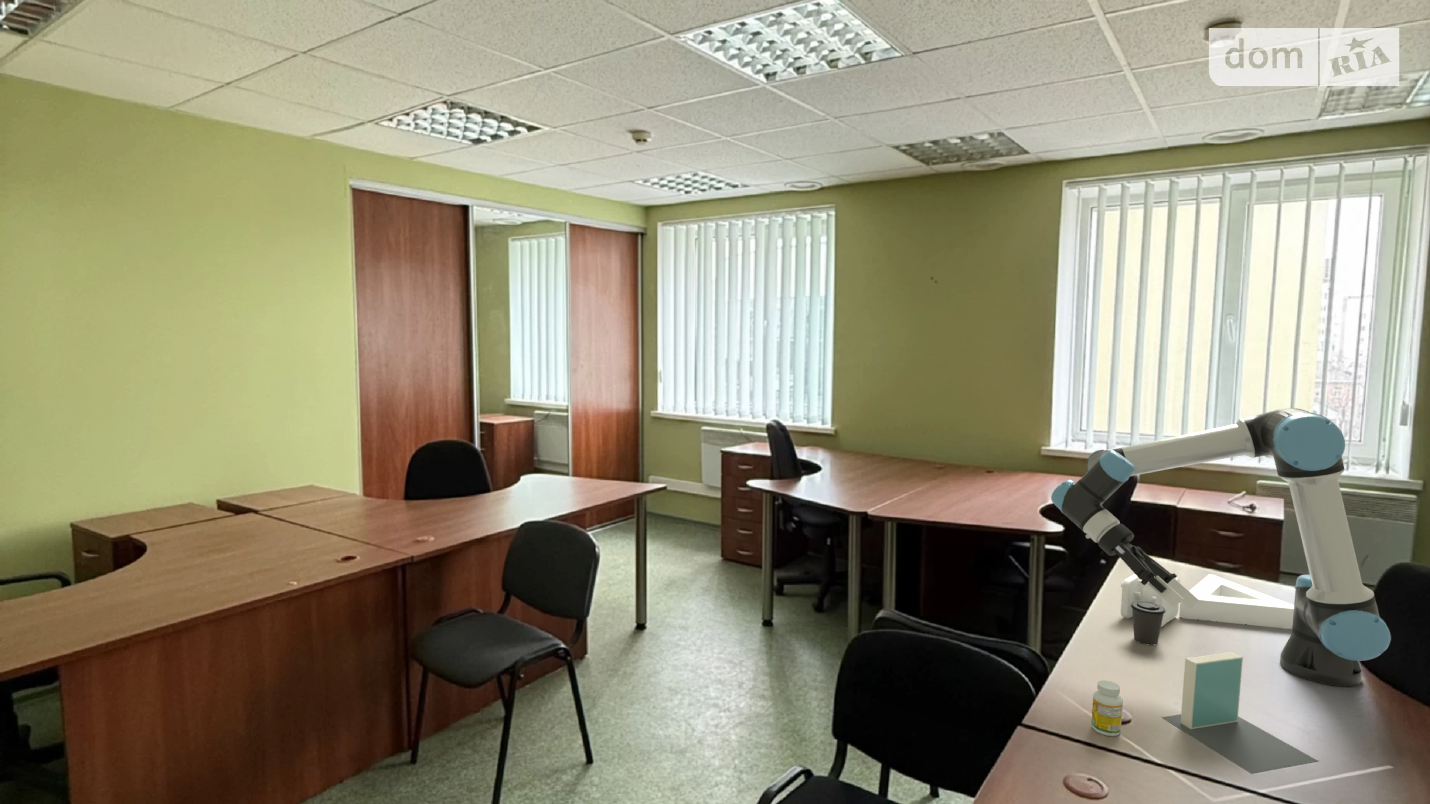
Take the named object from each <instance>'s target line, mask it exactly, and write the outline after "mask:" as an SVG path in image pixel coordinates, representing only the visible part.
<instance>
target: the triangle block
mask: <svg viewBox="0 0 1430 804" xmlns="http://www.w3.org/2000/svg"><path fill="white" fill-rule="evenodd" d="M1189 591H1190V592H1191V593H1192V594H1193V595H1194V596H1195V597H1197V598H1198V599H1199V601H1198V602H1197V603H1196V604H1195V605H1193V606H1192V607H1191V608H1189V607H1188V606H1187V605H1186V604H1184V603H1183V602H1182V601H1181V602H1180V603H1179V612H1178V613H1179V614H1178V615H1179V616H1178V618H1179V617H1182V618H1181V619H1188V620H1197V619H1199V621H1207V620H1211V621H1210V622H1216V621H1217V623H1225V624H1226V623H1229V624H1238V625H1245V624H1247V625H1248V626H1256V627H1265V628H1266V627H1267V628H1277V629H1283V630H1285V629H1287V630H1292V624H1293V612H1294V604H1292V603H1289V602H1287V601H1284V600H1282V599H1278V598H1275V597H1273V596H1271V595H1268V594H1265V593H1263V592H1260V591H1258V590H1255V589H1252V588H1249V587H1247V586H1243V585H1241V584H1240V583H1236V582H1234V581H1231V580H1228V579H1226V578H1223V577H1220V576H1218V575H1215V574H1212V573H1209V574H1208V575H1207V576H1205V577H1204V578H1202V579H1201V580H1200V581H1199V582H1198V583H1196V585H1194V586H1193V587H1192V588H1191V589H1190V590H1189ZM1247 625H1246V626H1247Z"/></svg>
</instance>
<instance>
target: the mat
mask: <svg viewBox="0 0 1430 804" xmlns="http://www.w3.org/2000/svg"><path fill="white" fill-rule="evenodd" d="M1161 718H1162V719H1163V720H1165V721H1166V722H1168V723H1169V724H1171V725H1172V726H1174V727H1176V728H1178V729H1179V730H1181V732H1182V731H1183V732H1184V733H1186V734H1187V735H1189V736H1190V737H1192V738H1193V739H1195V740H1197V741H1198V742H1200V743H1201V744H1203V745H1205V746H1206V747H1207V748H1210V749H1211V750H1213V751H1214V752H1216V753H1218V754H1219V755H1221V757H1224V758H1226V759H1227V760H1229V761H1231V762H1232V763H1234V765H1237V766H1238V767H1240V768H1242V769H1244V770H1245V771H1246V772H1248V773H1249V774H1251V775H1253V774H1257V773H1262V772H1263V773H1264V772H1267V771H1273V770H1279V769H1283V768H1290V767H1295V766H1299V765H1306V764H1312V763H1316V762H1319V760H1318V759H1316V758H1314V757H1313V756H1310V755H1309V754H1307V753H1305V752H1303V751H1302V750H1300V749H1298V748H1296V747H1295V746H1293V745H1291V744H1288V743H1287V742H1285V741H1283V740H1281V739H1280V738H1278V737H1276V736H1274V735H1273V734H1271V733H1270V732H1267V731H1265V730H1264V729H1262V728H1260V727H1259V726H1257V725H1254V724H1253V723H1251V722H1249V721H1247V720H1246V719H1243V717H1240V716H1238V722H1232V723H1225V724H1219V725H1213V726H1207V727H1201V728H1195V729H1190V728H1188V727H1186V726H1185V725H1183V724H1181V713H1179V714H1175V715H1168V716H1167V715H1166V716H1163V717H1162V716H1161Z"/></svg>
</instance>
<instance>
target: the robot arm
mask: <svg viewBox="0 0 1430 804" xmlns="http://www.w3.org/2000/svg"><path fill="white" fill-rule="evenodd" d="M1345 449H1346V439H1345V436H1344V433H1343V432H1342V429H1340V428H1339V426H1337V424H1335V422H1333V420H1331V419H1329V418H1327V417H1326V416H1324V415H1322V414H1318V413H1314V412H1310V411H1307V410H1305V409H1301V408H1298V407H1297V408H1295V407H1286V408H1279V409H1275V410H1271V411H1268V412H1264V413H1259V414H1255V415H1252V416H1249V417H1248V416H1247V417H1244V418H1243V417H1242V418H1238V420H1237V422H1236V423H1235V424H1229V425H1226V426H1225V425H1224V426H1221V427H1215V428H1211V429H1206V430H1200V431H1196V432H1191V433H1187V434H1181V435H1177V436H1172V437H1167V438H1163V439H1157V440H1154V441H1153V440H1151V441H1148V442H1142V443H1138V444H1133V445H1128V446H1124V447H1120V448H1113V449H1097V450H1095V451H1093V452H1091V454H1089V456H1088V458H1087V461H1086V470H1087V472H1086V473H1084V475H1083V476H1082V477H1081V478H1079V480H1077V481H1074V480H1072V479H1067V480H1064V481H1062V483H1061V484H1059V485H1058V486H1056V488H1054V490H1053V491H1052V493H1051V496H1050V498H1051V499H1050V500H1051V502H1052V504H1054V505H1055V506H1056V508H1058V510H1060V512H1061V513H1062V514H1063V515H1064V516H1065V517H1066V518H1068V519H1069V520H1070V521H1071V522H1072V523H1074V524H1075V525H1076V526H1077V527H1078V528H1079V529H1080V530H1081V531H1082V532H1083V533H1084V534H1085V538H1086V539H1088V540H1089V539H1091V540H1092V541H1093V542H1094V543H1097V544H1098V547H1100V549H1101V550H1103V551H1104V552H1105V553H1106V554H1107V555H1108V556H1110V557H1113V556H1118V557H1119V559H1120V560H1122V561H1123V562H1124V564H1125V565H1126V566H1128V568H1129V569H1130V570H1131V571H1132V572H1133V574H1136V575H1137V577H1138V578H1139V579H1140V580H1142V581H1141V583H1142V584H1143V585H1146V584H1147V583H1148V582H1149V583H1148V585H1149V586H1150V587H1152V588H1153V589H1154V590H1155V591H1156V592H1157V593H1158V594H1159V595H1160V596H1161V597H1162V598H1164V599H1165V600H1166V601H1167V602H1168V603H1169V604H1170V605H1171V606H1172V607H1175V606H1176V605H1177V604H1179V605H1180V602H1181V601H1182V602H1183V603H1184V604H1186V605H1187V606H1188V607H1189V608H1191V607H1192V606H1193V605H1195V604H1196V603H1197V602H1198V601H1199V599H1198V598H1197V597H1195V596H1194V595H1193V594H1192V593H1191V592H1190V590H1189V589H1188V588H1187V587H1186V586H1184V585H1183V584H1182V583H1181V581H1180V582H1179V581H1177V580H1176V579H1175V578H1178V575H1177V574H1176V573H1171V572H1170V571H1169V570H1167V568H1165V567H1164V566H1162V565H1161V564H1160V563H1158V562H1157V561H1156V560H1155V559H1153V558H1152V557H1151V556H1150V555H1149V554H1147V553H1146V552H1145V551H1144V550H1143V549H1142V548H1141V547H1140V546H1135V545H1132V544H1131V543H1132V541H1133V540H1134V538H1135V534H1134V532H1132V530H1130V529H1129V528H1128V527H1126V526H1125V525H1124V523H1120V520H1119V519H1118V518H1117V517H1116V516H1114V515H1113V513H1111V512H1110V511H1109V510H1108V509H1106V508H1105V507H1104V506H1103V504H1104V503H1105V502H1106V501H1107V500H1108V499H1109V498H1110V497H1111V496H1112V495H1113V494H1114V493H1115V492H1116V491H1117V490H1118V489H1119V488H1120V487H1121V486H1123V484H1124V483H1126V482H1127V481H1128V480H1129V478H1130V477H1134V476H1138V475H1145V474H1150V473H1155V472H1159V471H1165V470H1170V469H1176V468H1181V467H1186V466H1191V465H1192V466H1193V465H1197V464H1202V463H1208V462H1212V461H1213V462H1214V461H1217V460H1224V459H1229V458H1236V457H1242V456H1248V457H1249V458H1252V459H1253V458H1259V457H1264V456H1265V457H1267V456H1269V457H1270V456H1271V457H1272V456H1273V460H1274V464H1275V468H1276V473H1277V477H1278V478H1281V480H1283V481H1285V482H1287V483H1288V488H1289V490H1290V495H1291V496H1290V497H1291V499H1292V503H1293V509H1294V512H1295V516H1296V517H1295V518H1296V521H1297V526H1298V531H1299V534H1300V538H1301V541H1302V546H1303V552H1304V555H1305V559H1306V560H1305V561H1306V564H1307V569H1308V573H1309V574H1301V575H1299V576H1298V577H1297V578H1296V582H1295V585H1294V590H1295V591H1294V601H1293V605H1294V612H1293V624H1292V629H1291V633H1290V636H1289V638H1288V639H1287V642H1286V643H1285V644H1284V647H1283V648H1282V650H1281V652H1280V654H1279V655H1280V659H1279V664H1280V666H1281V667H1282V668H1283V669H1285V670H1286V671H1288V672H1289V673H1290V674H1293V675H1295V676H1297V677H1299V678H1303V679H1306V680H1308V681H1312V682H1315V683H1318V684H1319V683H1320V684H1323V685H1329V686H1334V687H1335V686H1336V687H1355V686H1358V685H1361V684H1362V679H1363V669H1362V667H1361V663H1360V662H1361V661H1369V660H1373V659H1376V658H1377V657H1379V656H1381V655H1382V654H1383V653H1385V651H1386V650H1387V649H1388V648H1389V646H1390V644H1391V641H1392V635H1391V632H1390V629H1389V627H1388V626H1387V623H1386V622H1385V620H1384V619H1383V618H1381V616H1380V613H1379V608H1378V604H1377V601H1376V597H1375V593H1374V591H1373V590H1372V589H1370V588H1368V587H1367V586H1365V585H1364V584H1363V581H1362V577H1361V572H1360V568H1359V564H1358V559H1357V555H1356V551H1355V547H1354V543H1353V538H1352V534H1351V530H1350V524H1349V521H1348V517H1347V513H1346V508H1345V504H1344V500H1343V499H1344V498H1343V495H1342V492H1341V486H1340V483H1339V477H1340V476H1341V475H1342V473H1344V472H1345V470H1346V468H1345V464H1344V460H1343V457H1342V456H1343V454H1344V452H1345Z"/></svg>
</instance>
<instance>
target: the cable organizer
mask: <svg viewBox="0 0 1430 804" xmlns="http://www.w3.org/2000/svg"><path fill="white" fill-rule="evenodd" d="M1175 579H1176V580H1177V581H1179V582H1180V583H1181V580H1180V578H1178V577H1176V578H1175ZM1141 581H1142V580H1140V579H1139V578H1138V577H1137V575H1136V574H1135V573H1133V574H1132V575H1130V576H1129V577H1125V579H1123V581H1122V582H1121V583H1120V587H1121V600H1120V601H1121V603H1120V615H1121V617H1123V618H1126V619H1130V618H1133V614H1132V608H1131V606H1130V605H1131V604H1132V602H1135V601H1148V602H1152V603H1155V604H1158V605H1161V606H1163V607H1164V608H1165V610H1166V613H1164V614H1163V619H1162V624H1161V628H1163V626H1165V625H1166V624H1168V623H1169V622H1170V620H1171V621H1172V620H1174V618H1176V617H1177V615H1178V613H1179V609H1180V603H1179V604H1177V605H1176V606H1175V607H1172V606H1171V605H1170V604H1169V603H1168V602H1167V601H1166V600H1165V599H1164V598H1162V597H1161V596H1160V595H1159V594H1158V593H1157V592H1156V591H1155V590H1154V589H1153V588H1152V587H1150V586H1149V585H1148V583H1149V582H1148V583H1147V584H1146V585H1143V584H1142V583H1141Z"/></svg>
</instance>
